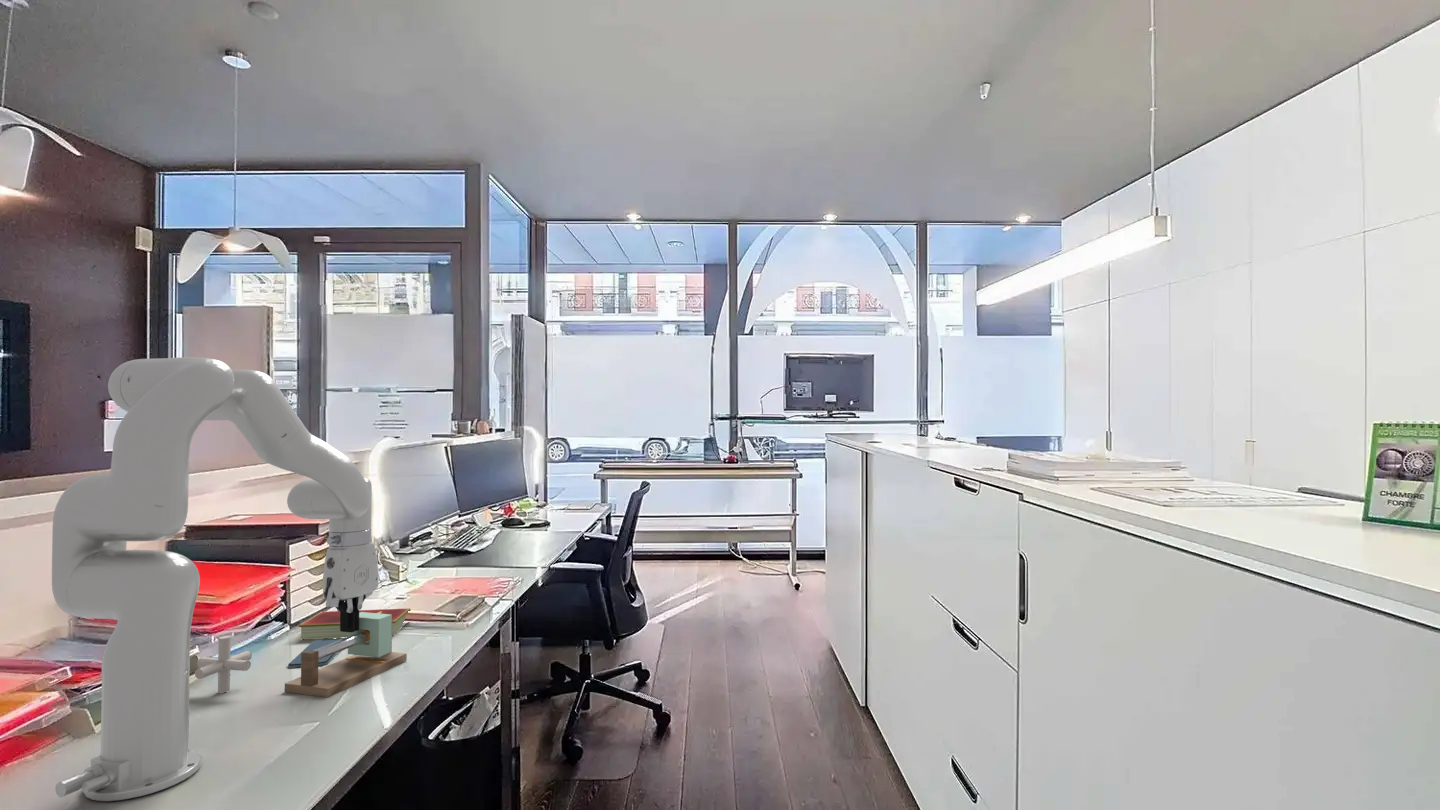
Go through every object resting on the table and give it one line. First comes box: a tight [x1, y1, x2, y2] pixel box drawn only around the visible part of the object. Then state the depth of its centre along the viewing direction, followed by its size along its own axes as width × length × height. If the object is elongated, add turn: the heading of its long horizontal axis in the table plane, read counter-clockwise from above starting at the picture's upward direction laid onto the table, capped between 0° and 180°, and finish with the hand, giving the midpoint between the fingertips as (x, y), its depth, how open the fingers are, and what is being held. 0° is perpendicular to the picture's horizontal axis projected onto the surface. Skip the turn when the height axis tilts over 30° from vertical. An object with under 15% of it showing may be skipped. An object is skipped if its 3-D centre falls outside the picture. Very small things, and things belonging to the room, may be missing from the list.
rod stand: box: [284, 629, 408, 698], centre depth 136 cm, size 20×10×8 cm, turn 164°
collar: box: [347, 612, 393, 657], centre depth 141 cm, size 4×8×8 cm, turn 74°
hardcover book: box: [298, 607, 412, 640], centre depth 166 cm, size 12×21×4 cm, turn 98°
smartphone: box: [287, 638, 344, 669], centre depth 148 cm, size 8×2×15 cm
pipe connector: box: [194, 635, 253, 694], centre depth 128 cm, size 10×10×10 cm
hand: (349, 630), depth 138 cm, fingers closed
